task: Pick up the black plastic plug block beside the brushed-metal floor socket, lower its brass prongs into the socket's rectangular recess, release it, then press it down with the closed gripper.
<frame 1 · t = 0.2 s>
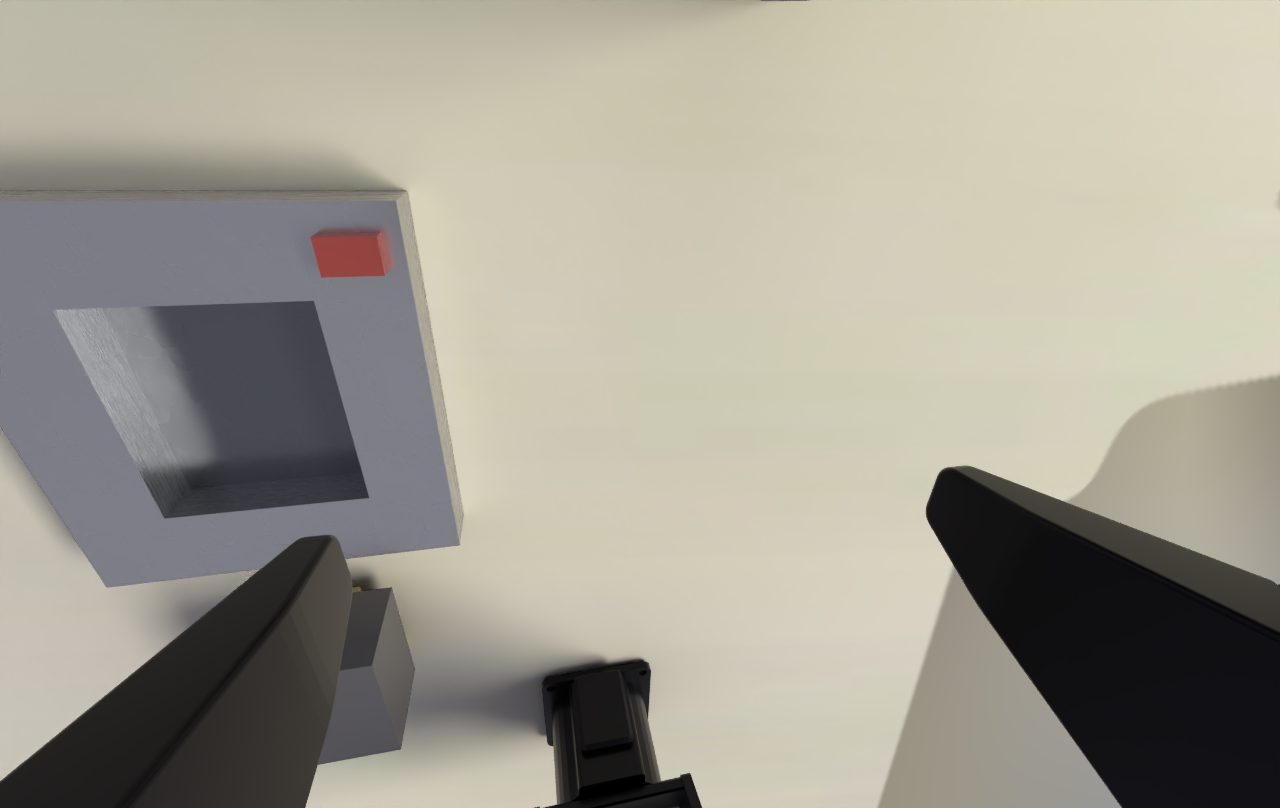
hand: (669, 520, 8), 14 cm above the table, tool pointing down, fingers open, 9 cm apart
plug: (353, 621, 26), on the table
socket: (257, 390, 20), on the table
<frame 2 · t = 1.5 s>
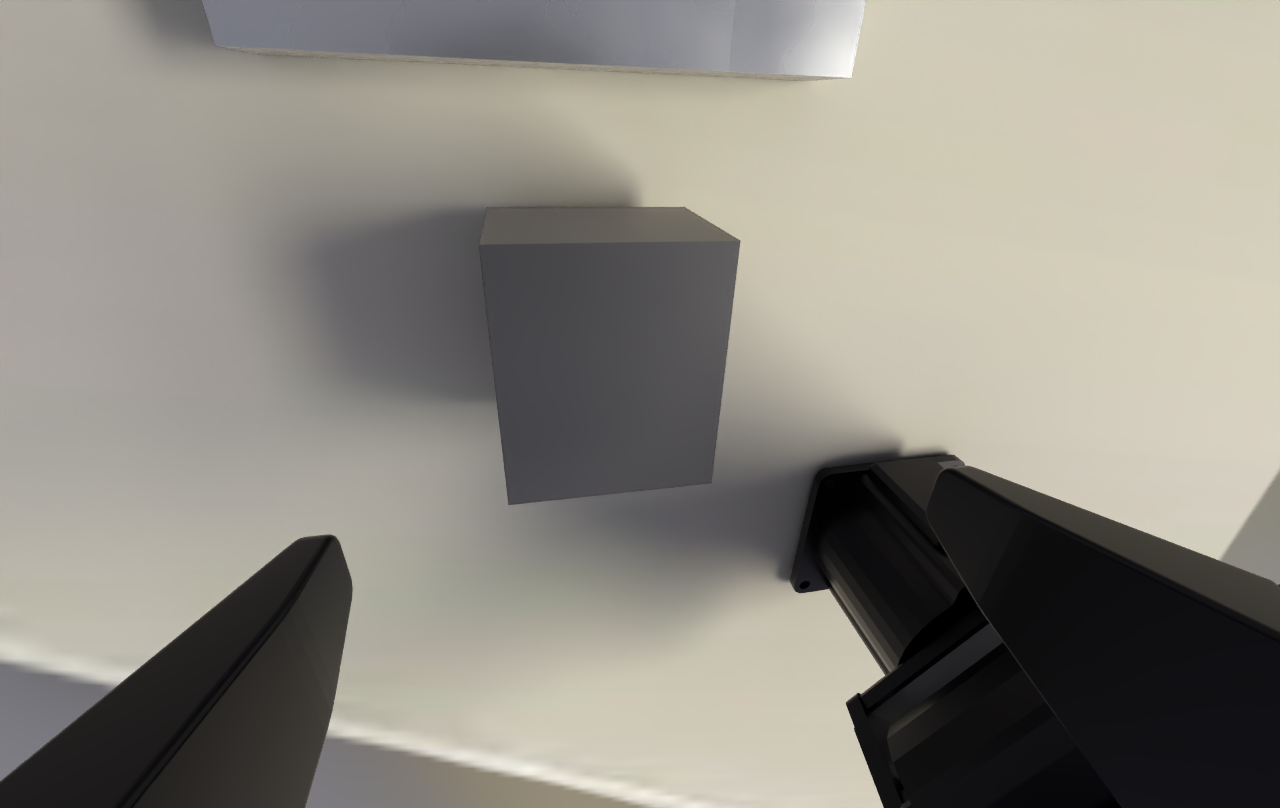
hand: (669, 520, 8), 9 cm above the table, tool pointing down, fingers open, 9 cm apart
plug: (586, 308, 16), on the table
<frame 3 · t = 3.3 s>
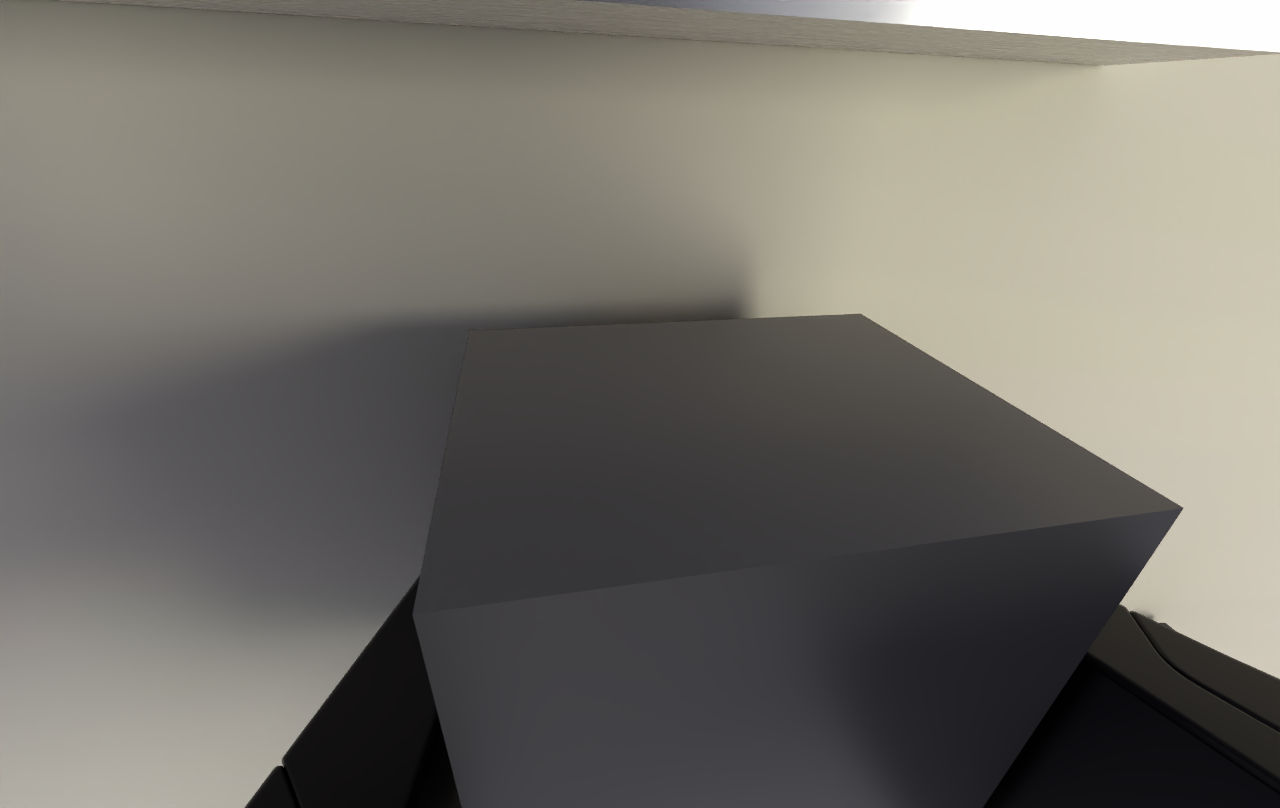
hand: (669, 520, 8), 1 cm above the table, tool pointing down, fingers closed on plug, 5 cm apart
plug: (651, 471, 9), on the table, touching gripper
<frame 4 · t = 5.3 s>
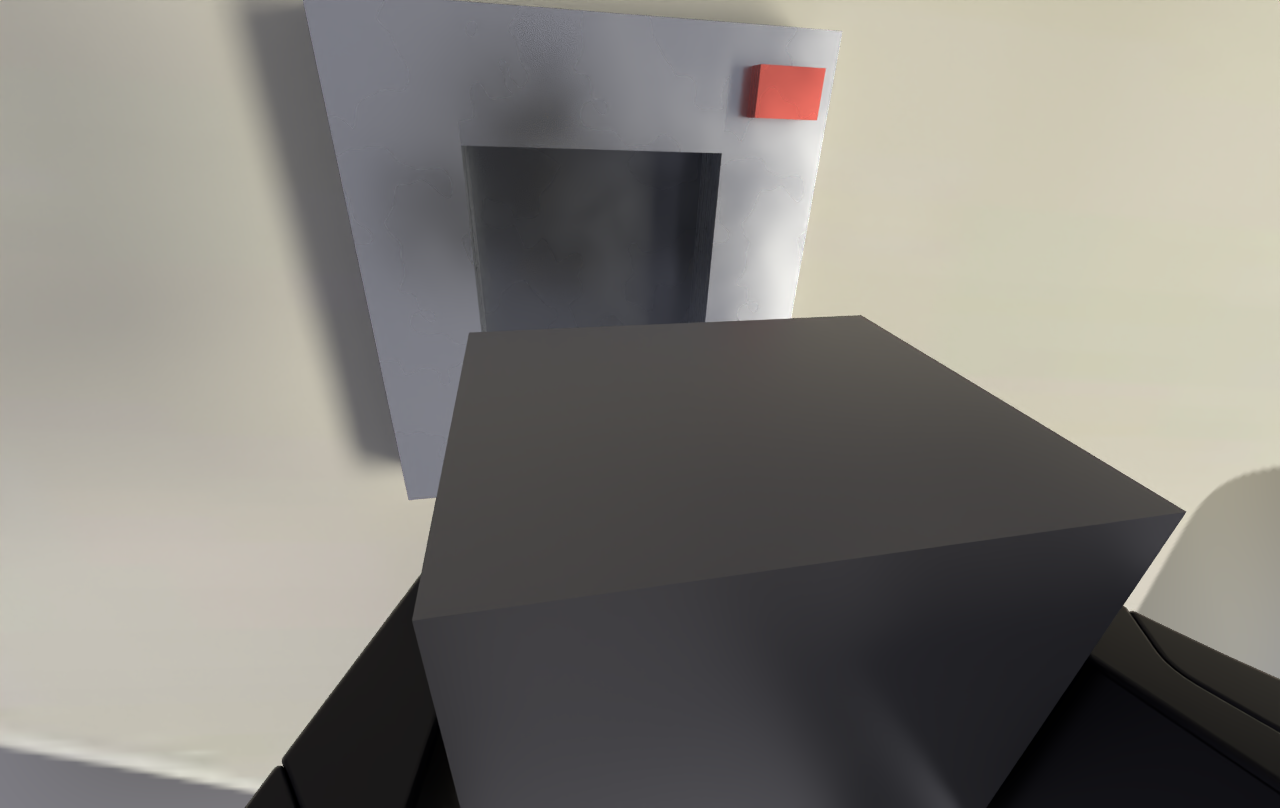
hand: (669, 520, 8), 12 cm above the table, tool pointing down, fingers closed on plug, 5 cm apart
plug: (651, 472, 9), point 11 cm above the table, touching gripper
socket: (590, 278, 18), on the table
when the fingers open (3 cm above the table, at t = 7.8 s): plug drops 1 cm, resting on socket.
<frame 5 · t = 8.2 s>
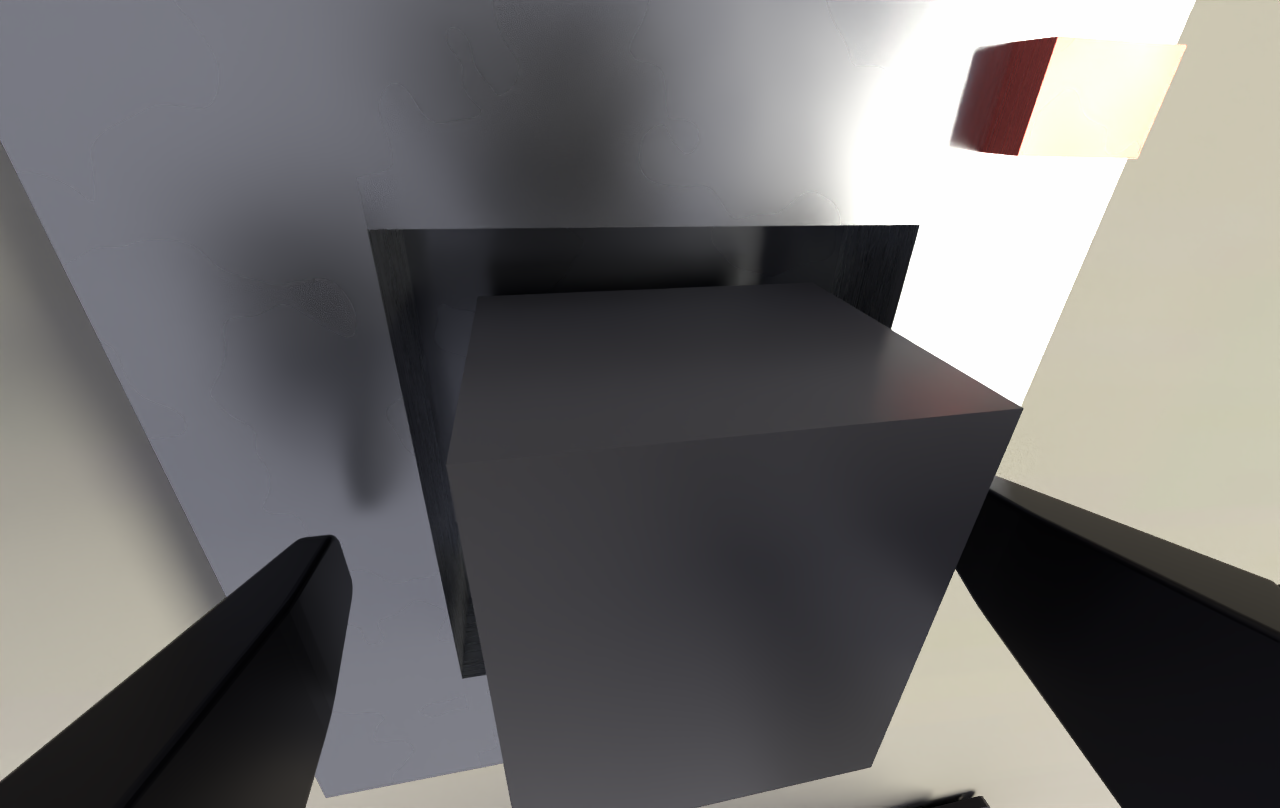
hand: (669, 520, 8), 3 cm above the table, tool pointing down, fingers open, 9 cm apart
plug: (637, 428, 10), resting on socket
socket: (633, 421, 10), on the table
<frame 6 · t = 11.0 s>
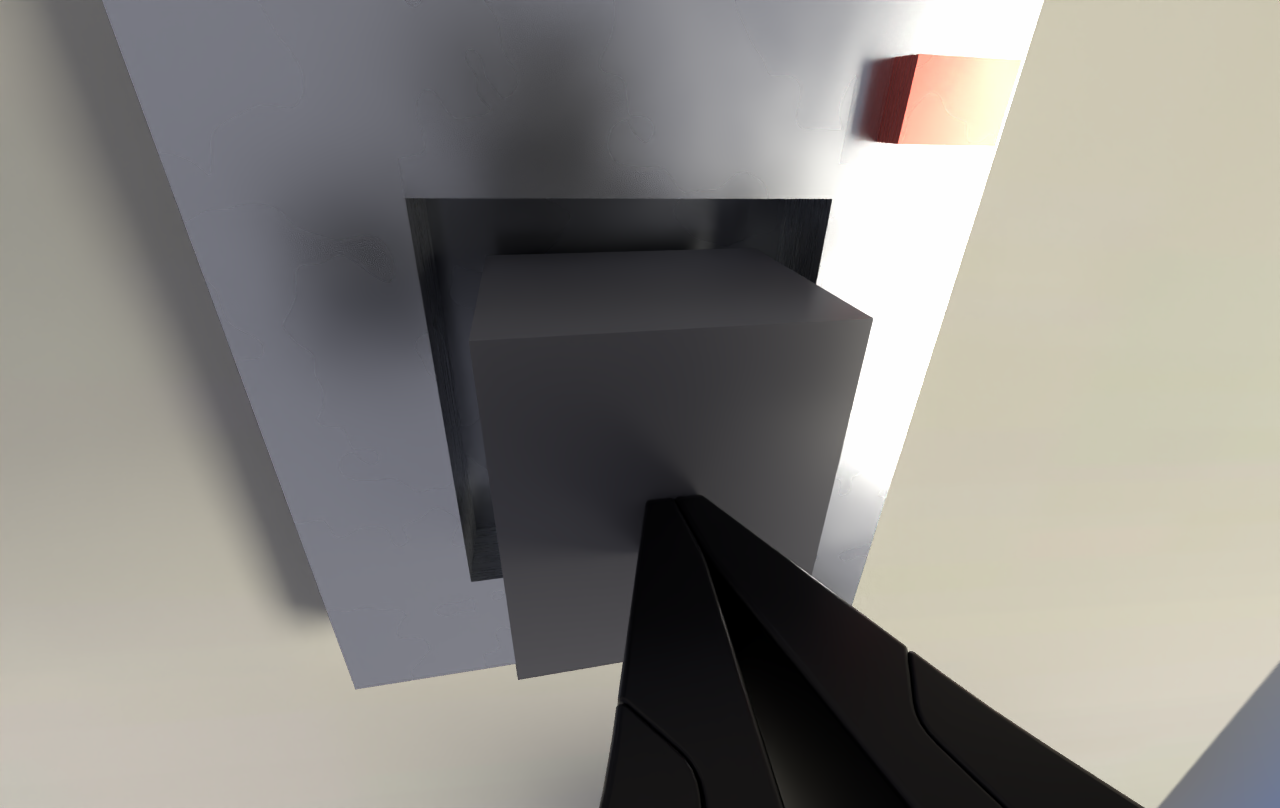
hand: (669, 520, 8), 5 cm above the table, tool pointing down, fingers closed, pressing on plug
plug: (617, 375, 12), resting on socket, touching gripper
socket: (614, 370, 12), on the table
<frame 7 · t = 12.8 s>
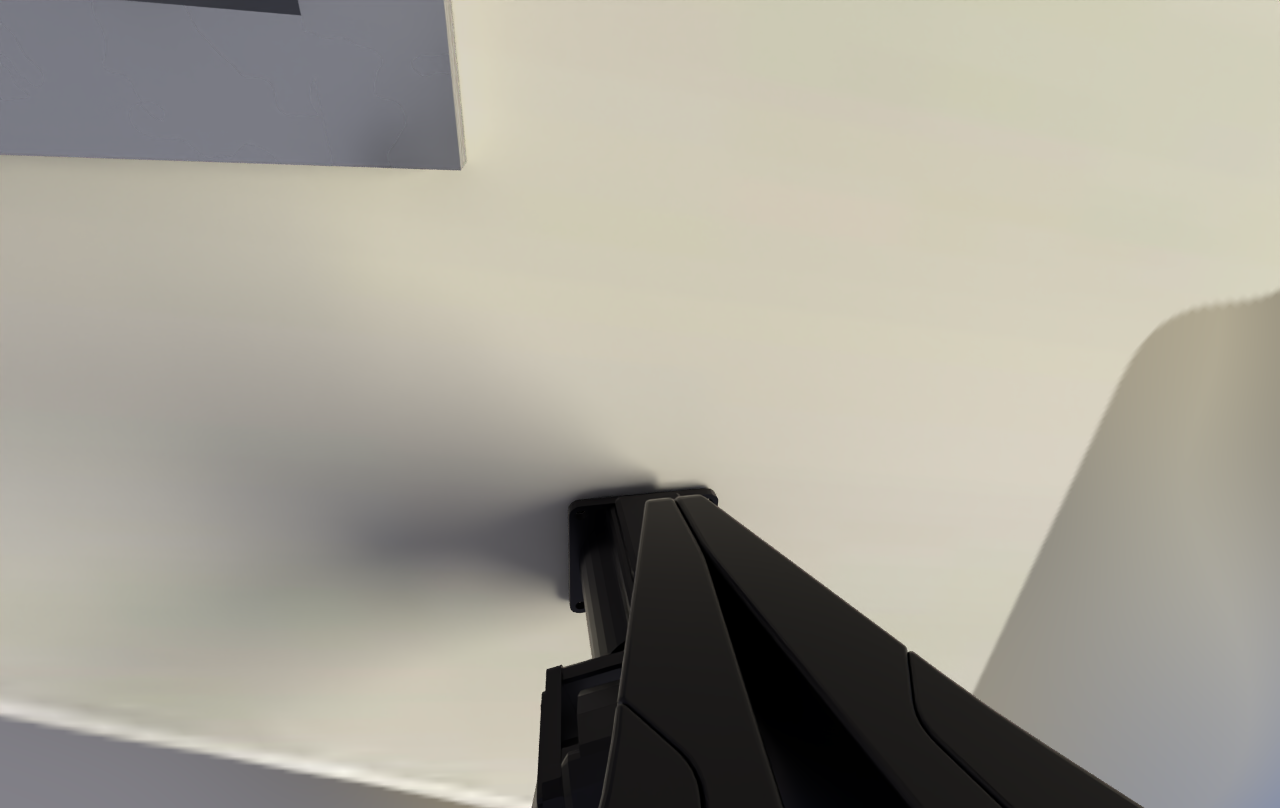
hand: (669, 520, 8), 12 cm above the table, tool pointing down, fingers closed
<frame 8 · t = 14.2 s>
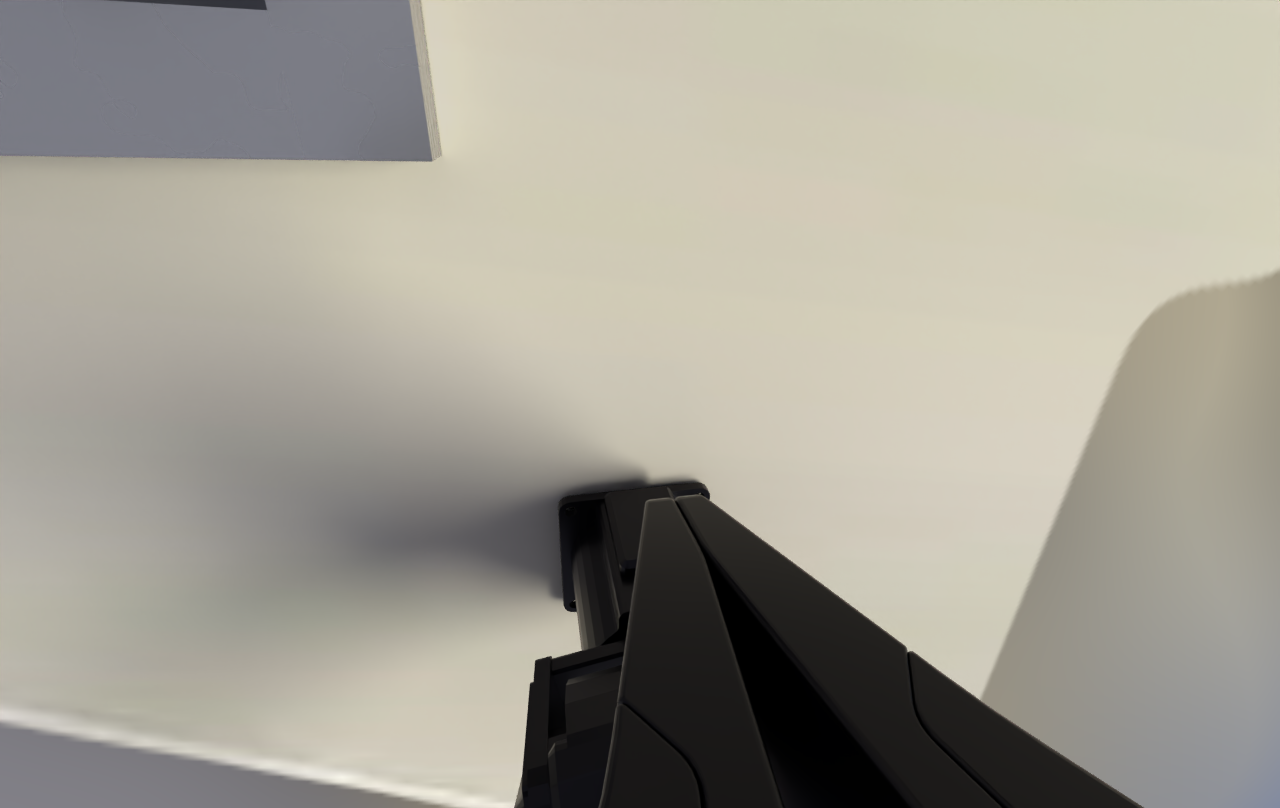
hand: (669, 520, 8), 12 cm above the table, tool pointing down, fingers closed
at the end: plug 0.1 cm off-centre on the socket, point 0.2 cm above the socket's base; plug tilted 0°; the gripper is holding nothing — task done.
